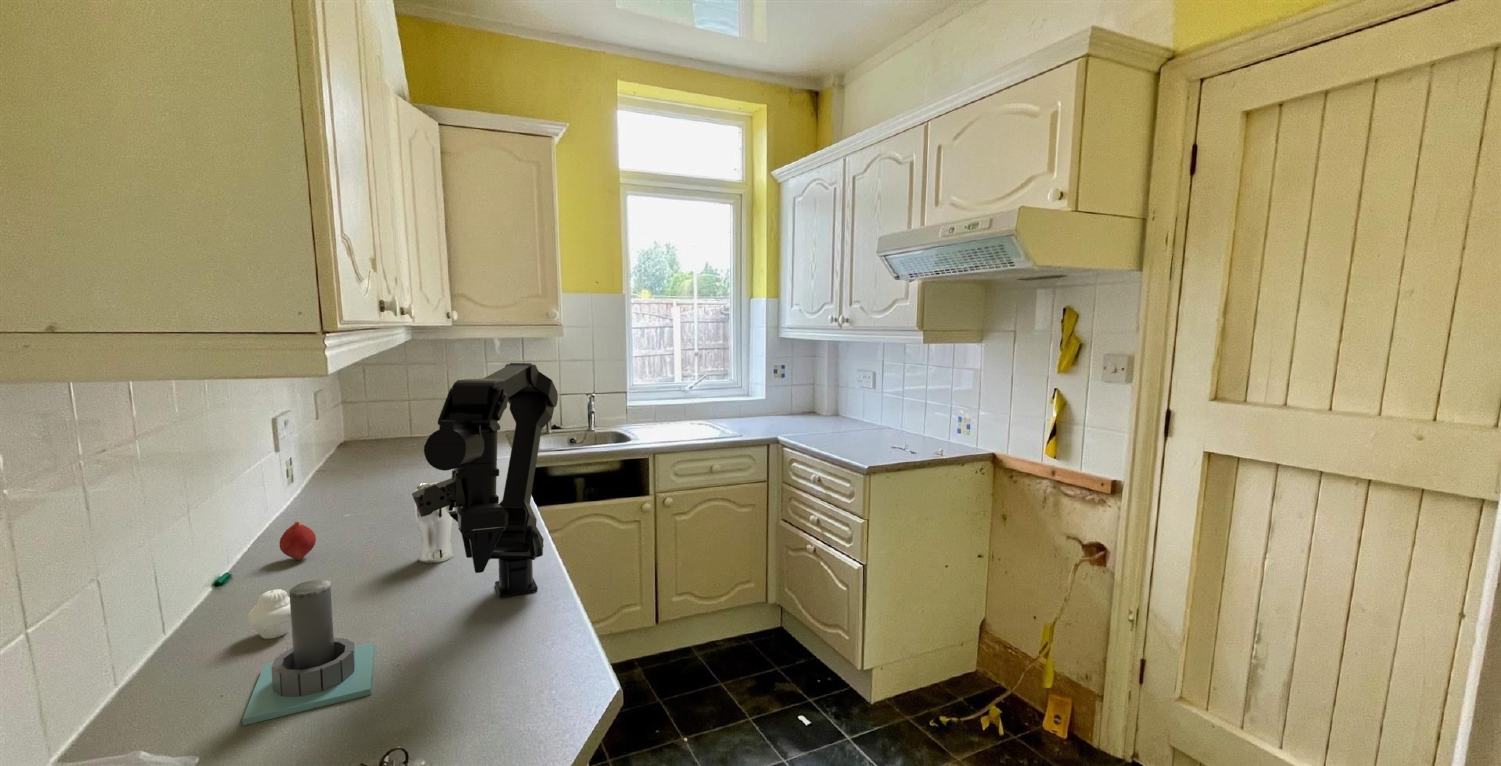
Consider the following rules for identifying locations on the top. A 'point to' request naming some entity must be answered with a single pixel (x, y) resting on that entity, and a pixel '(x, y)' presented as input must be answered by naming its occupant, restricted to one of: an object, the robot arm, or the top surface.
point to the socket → (311, 682)
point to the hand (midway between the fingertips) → (474, 564)
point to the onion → (297, 541)
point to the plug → (312, 624)
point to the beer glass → (434, 533)
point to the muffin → (271, 614)
